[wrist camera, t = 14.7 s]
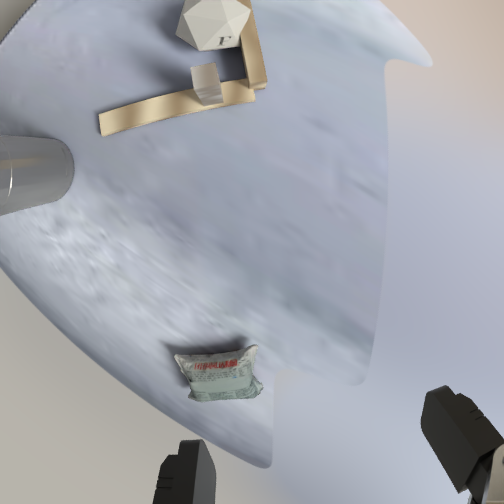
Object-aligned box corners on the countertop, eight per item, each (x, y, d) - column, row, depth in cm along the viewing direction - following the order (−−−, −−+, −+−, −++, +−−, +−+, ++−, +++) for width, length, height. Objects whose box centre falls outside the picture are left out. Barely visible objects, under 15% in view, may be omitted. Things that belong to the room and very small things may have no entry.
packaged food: (177, 346, 45) (171, 364, 41) (257, 337, 45) (259, 356, 41) (190, 389, 48) (186, 410, 43) (263, 383, 48) (265, 403, 43)
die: (172, 54, 35) (193, 62, 29) (167, -4, 29) (188, -12, 23) (229, 46, 38) (262, 54, 32) (227, -9, 32) (261, -14, 26)
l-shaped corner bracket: (104, 136, 37) (67, 130, 27) (94, 29, 33) (62, 3, 23) (267, 99, 37) (275, 78, 27) (244, -8, 32) (245, -48, 23)
